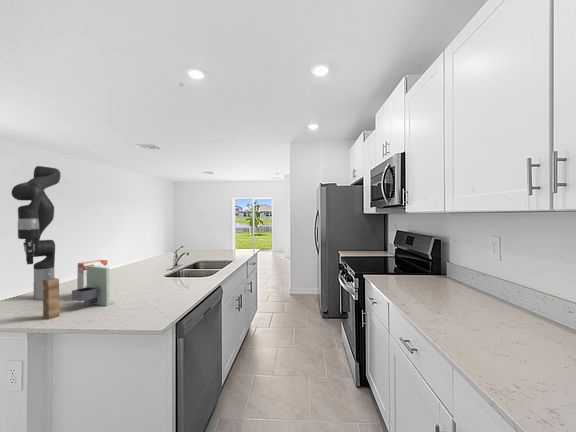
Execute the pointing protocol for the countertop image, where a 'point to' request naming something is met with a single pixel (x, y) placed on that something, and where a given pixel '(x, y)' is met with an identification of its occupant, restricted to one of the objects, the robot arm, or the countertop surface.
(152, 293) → the countertop surface
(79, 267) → the cracker box
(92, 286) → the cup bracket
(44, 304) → the walnut rail
